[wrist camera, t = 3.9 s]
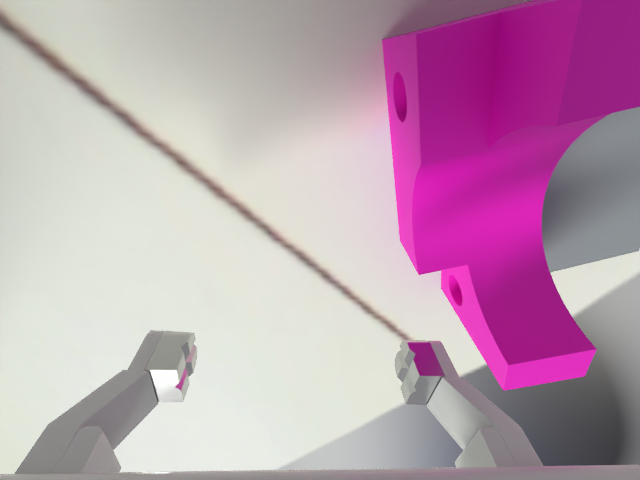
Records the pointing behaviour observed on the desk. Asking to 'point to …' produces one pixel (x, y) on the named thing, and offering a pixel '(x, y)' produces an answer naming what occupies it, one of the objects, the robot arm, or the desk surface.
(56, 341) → the desk surface
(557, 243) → the mat
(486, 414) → the robot arm
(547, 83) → the magenta notched part
